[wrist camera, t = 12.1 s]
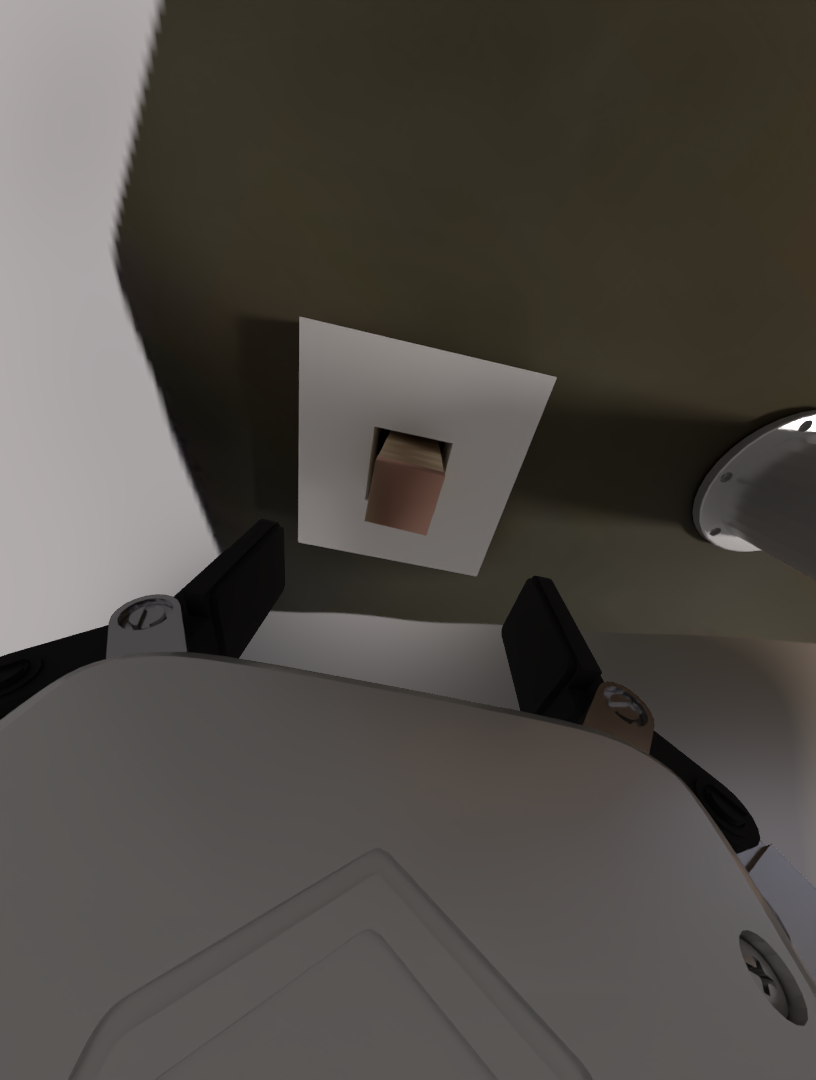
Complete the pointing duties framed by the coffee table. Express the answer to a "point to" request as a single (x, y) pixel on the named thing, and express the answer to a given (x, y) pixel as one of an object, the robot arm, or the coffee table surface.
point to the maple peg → (406, 483)
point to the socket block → (414, 408)
